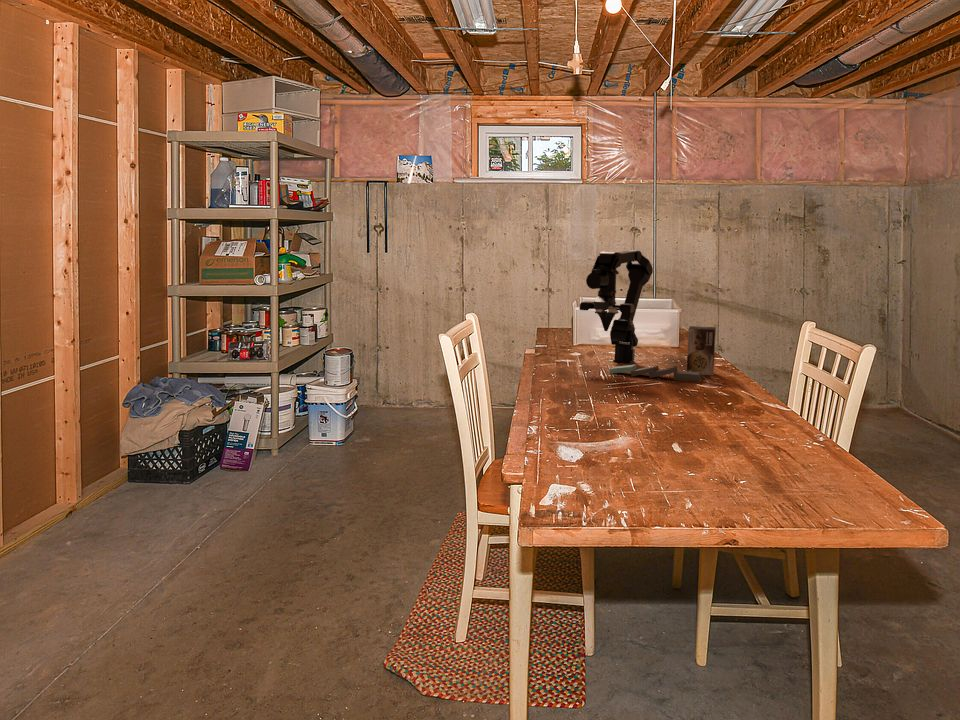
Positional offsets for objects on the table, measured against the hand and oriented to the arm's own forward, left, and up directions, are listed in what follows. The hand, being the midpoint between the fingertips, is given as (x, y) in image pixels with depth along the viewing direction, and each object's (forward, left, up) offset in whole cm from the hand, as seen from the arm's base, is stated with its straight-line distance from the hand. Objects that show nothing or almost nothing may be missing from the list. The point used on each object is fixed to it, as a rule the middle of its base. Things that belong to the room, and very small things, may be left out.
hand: (605, 331), depth 278 cm
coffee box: (+33, +4, -13) cm, 36 cm away
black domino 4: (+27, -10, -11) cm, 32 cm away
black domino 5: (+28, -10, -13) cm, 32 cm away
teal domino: (+6, -10, -12) cm, 17 cm away
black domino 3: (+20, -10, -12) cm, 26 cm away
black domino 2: (+14, -10, -12) cm, 21 cm away
